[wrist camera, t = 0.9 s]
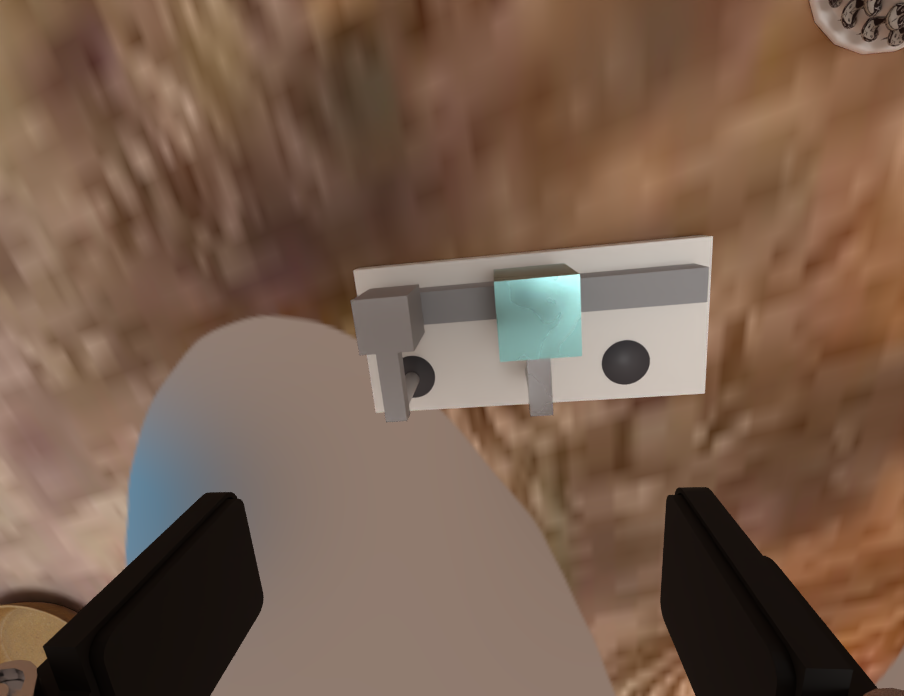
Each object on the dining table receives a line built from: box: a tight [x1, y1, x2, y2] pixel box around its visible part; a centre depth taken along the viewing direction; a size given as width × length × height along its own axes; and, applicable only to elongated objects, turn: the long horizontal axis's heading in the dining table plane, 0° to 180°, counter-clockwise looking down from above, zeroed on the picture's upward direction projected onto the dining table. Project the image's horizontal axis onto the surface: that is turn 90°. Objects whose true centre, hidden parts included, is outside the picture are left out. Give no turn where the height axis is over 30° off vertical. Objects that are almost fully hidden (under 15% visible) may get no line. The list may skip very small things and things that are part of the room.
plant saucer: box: [0, 602, 77, 668], centre depth 43 cm, size 15×15×3 cm
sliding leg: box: [494, 263, 582, 416], centre depth 26 cm, size 8×4×7 cm, turn 6°
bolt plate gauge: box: [351, 235, 713, 422], centre depth 28 cm, size 10×22×8 cm, turn 96°
